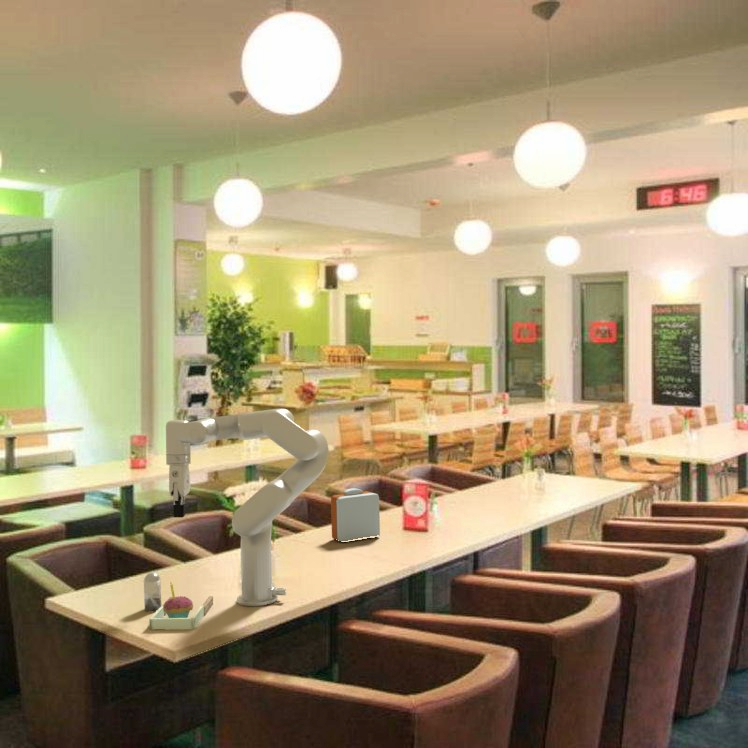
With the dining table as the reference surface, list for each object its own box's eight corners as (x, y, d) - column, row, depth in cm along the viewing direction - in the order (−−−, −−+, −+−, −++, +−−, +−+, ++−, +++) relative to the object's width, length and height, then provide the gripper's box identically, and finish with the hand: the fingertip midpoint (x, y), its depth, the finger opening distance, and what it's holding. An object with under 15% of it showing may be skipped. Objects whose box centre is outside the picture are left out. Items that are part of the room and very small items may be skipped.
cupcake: (170, 628, 237) (169, 586, 236) (158, 620, 243) (157, 580, 243) (198, 621, 242) (197, 581, 241) (186, 614, 248) (185, 574, 248)
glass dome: (163, 606, 257) (162, 570, 257) (158, 611, 252) (157, 575, 252) (147, 606, 257) (146, 570, 257) (142, 611, 252) (141, 575, 252)
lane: (213, 604, 258) (213, 596, 258) (205, 615, 247) (205, 607, 247) (170, 604, 258) (170, 596, 258) (160, 616, 248) (160, 607, 248)
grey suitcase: (370, 534, 350) (369, 485, 350) (380, 537, 343) (379, 488, 342) (331, 539, 341) (330, 490, 340) (341, 544, 333) (339, 493, 333)
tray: (204, 615, 247) (203, 605, 247) (194, 629, 235) (194, 618, 235) (161, 615, 248) (161, 606, 248) (149, 629, 236) (149, 619, 236)
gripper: (185, 462, 255) (186, 521, 256) (194, 456, 270) (195, 512, 271) (161, 462, 255) (161, 522, 255) (171, 456, 270) (172, 512, 270)
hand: (179, 516), depth 263 cm, fingers closed
